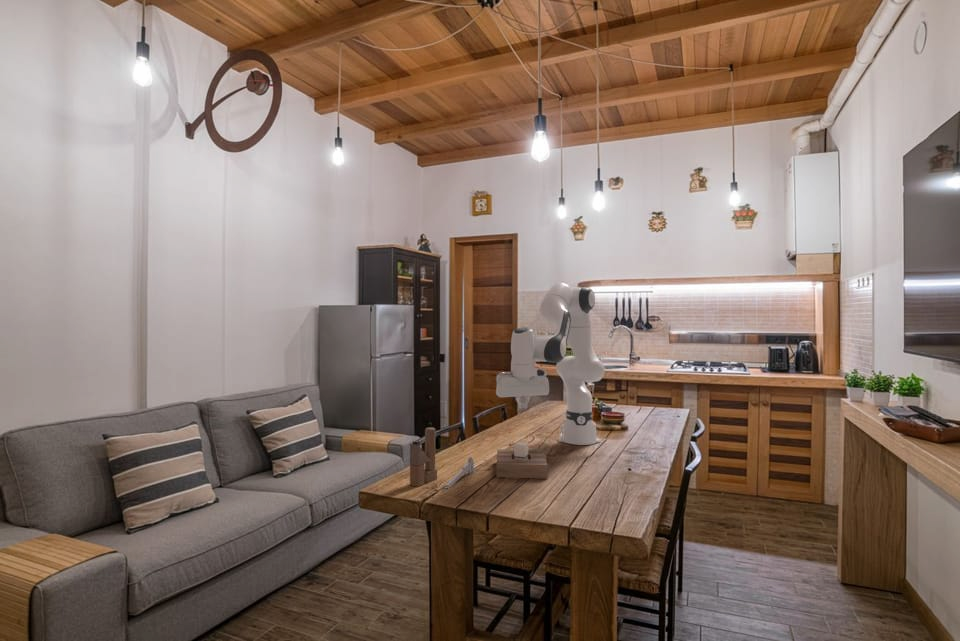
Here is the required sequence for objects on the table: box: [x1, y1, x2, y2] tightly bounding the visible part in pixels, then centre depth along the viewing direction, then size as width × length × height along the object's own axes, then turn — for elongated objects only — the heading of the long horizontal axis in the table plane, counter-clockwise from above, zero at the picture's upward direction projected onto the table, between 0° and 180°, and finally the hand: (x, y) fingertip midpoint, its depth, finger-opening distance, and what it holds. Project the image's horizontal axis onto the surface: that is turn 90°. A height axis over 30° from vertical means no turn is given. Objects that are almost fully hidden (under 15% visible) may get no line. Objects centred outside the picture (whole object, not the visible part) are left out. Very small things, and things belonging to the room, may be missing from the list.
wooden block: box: [409, 426, 438, 488], centre depth 176 cm, size 4×11×18 cm, turn 147°
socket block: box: [496, 448, 549, 480], centre depth 190 cm, size 20×18×5 cm
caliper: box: [444, 456, 475, 489], centre depth 178 cm, size 20×1×6 cm, turn 155°
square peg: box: [513, 441, 529, 459], centre depth 190 cm, size 4×4×10 cm
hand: (522, 408), depth 191 cm, fingers closed
